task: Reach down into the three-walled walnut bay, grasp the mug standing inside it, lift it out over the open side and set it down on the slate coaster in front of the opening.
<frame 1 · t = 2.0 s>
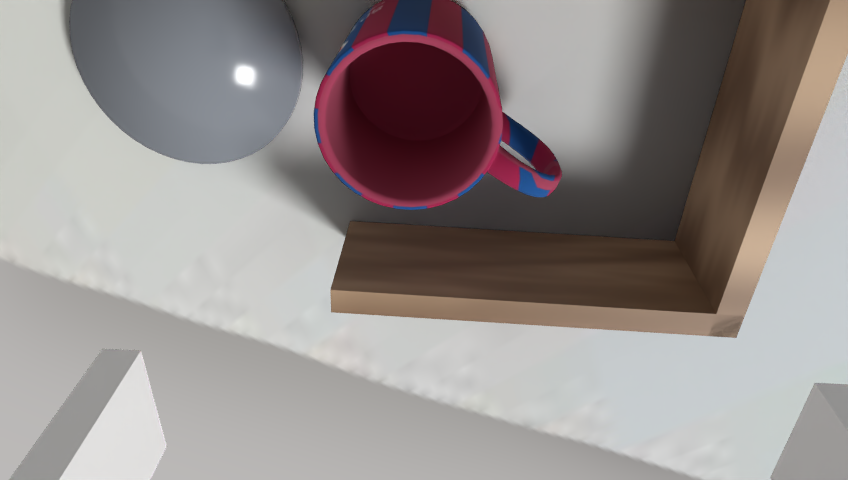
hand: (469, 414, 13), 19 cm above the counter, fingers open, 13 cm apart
mug: (447, 90, 29), on the counter
walnut bay: (536, 97, 29), on the counter
slate coaster: (191, 55, 28), on the counter
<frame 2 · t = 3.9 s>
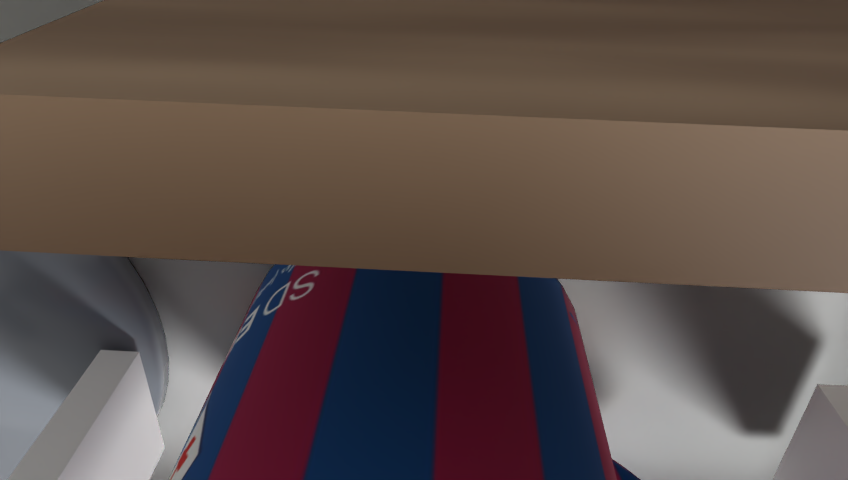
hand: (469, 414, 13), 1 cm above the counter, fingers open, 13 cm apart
mug: (478, 379, 14), on the counter
walnut bay: (671, 399, 13), on the counter
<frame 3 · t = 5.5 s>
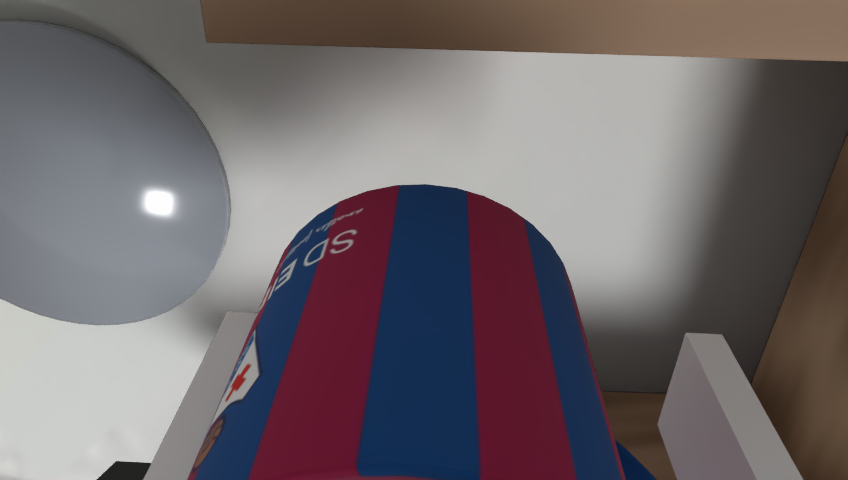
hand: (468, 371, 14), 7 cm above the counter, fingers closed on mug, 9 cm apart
mug: (476, 346, 15), point 6 cm above the counter, touching gripper
walnut bay: (560, 228, 20), on the counter
slate coaster: (69, 186, 20), on the counter
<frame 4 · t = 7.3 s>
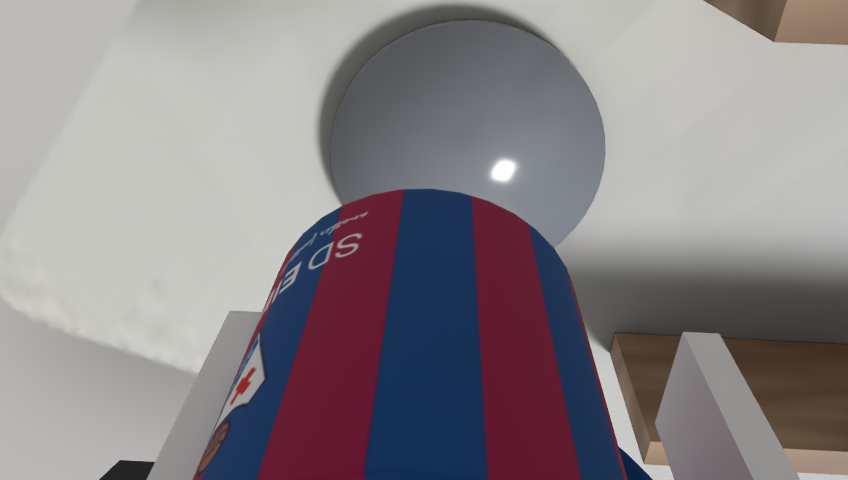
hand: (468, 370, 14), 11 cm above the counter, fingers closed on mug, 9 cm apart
mug: (478, 350, 15), point 11 cm above the counter, touching gripper
slate coaster: (465, 157, 24), on the counter
when the fingers open (1 cm above the counter, at t = 9.5 s): mug stays where it is, resting on slate coaster.
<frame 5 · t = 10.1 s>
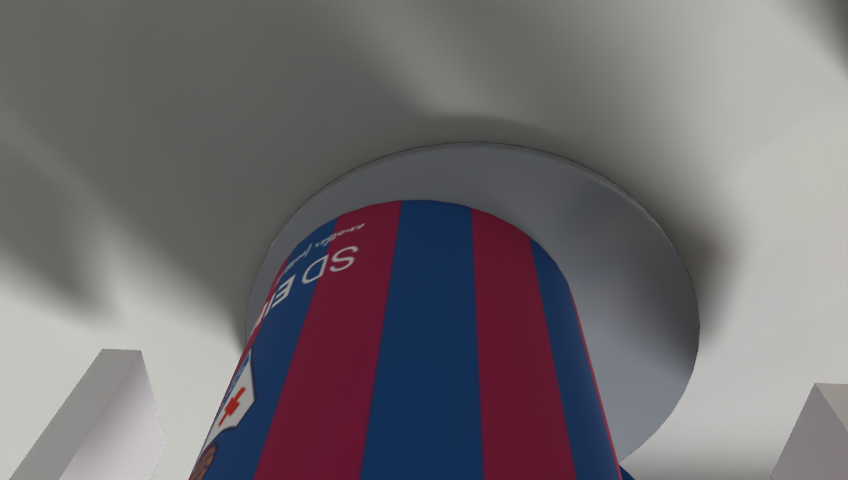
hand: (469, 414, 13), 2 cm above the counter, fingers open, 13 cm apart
mug: (476, 364, 15), resting on slate coaster
slate coaster: (467, 343, 15), on the counter
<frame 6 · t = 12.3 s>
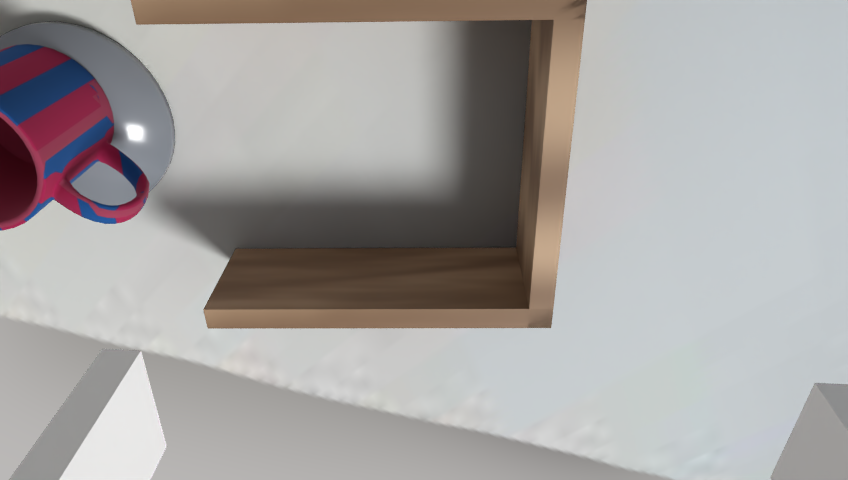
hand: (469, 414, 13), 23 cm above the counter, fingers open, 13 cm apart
mug: (81, 127, 33), resting on slate coaster
walnut bay: (372, 135, 34), on the counter
slate coaster: (79, 119, 33), on the counter
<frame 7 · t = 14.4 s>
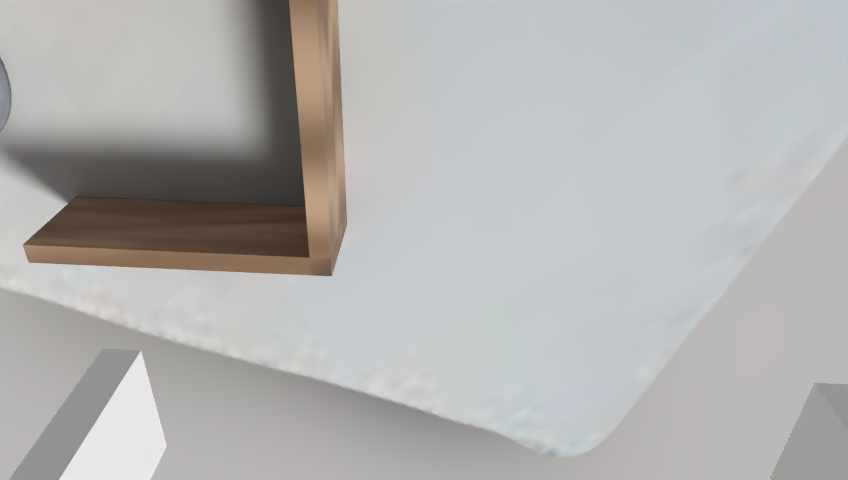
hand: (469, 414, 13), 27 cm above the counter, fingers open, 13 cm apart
walnut bay: (187, 97, 38), on the counter
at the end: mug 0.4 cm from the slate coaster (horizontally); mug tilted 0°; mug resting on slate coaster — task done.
